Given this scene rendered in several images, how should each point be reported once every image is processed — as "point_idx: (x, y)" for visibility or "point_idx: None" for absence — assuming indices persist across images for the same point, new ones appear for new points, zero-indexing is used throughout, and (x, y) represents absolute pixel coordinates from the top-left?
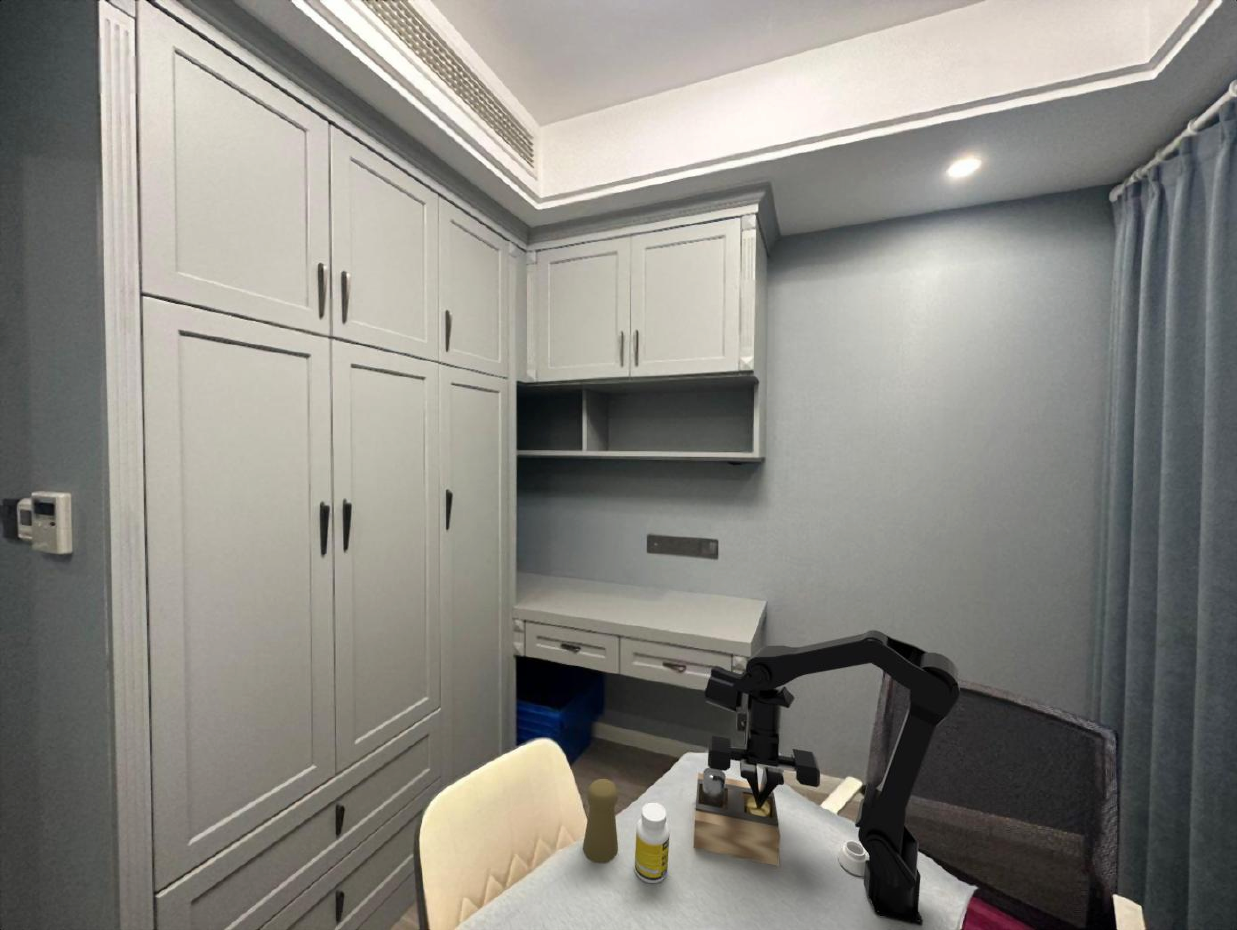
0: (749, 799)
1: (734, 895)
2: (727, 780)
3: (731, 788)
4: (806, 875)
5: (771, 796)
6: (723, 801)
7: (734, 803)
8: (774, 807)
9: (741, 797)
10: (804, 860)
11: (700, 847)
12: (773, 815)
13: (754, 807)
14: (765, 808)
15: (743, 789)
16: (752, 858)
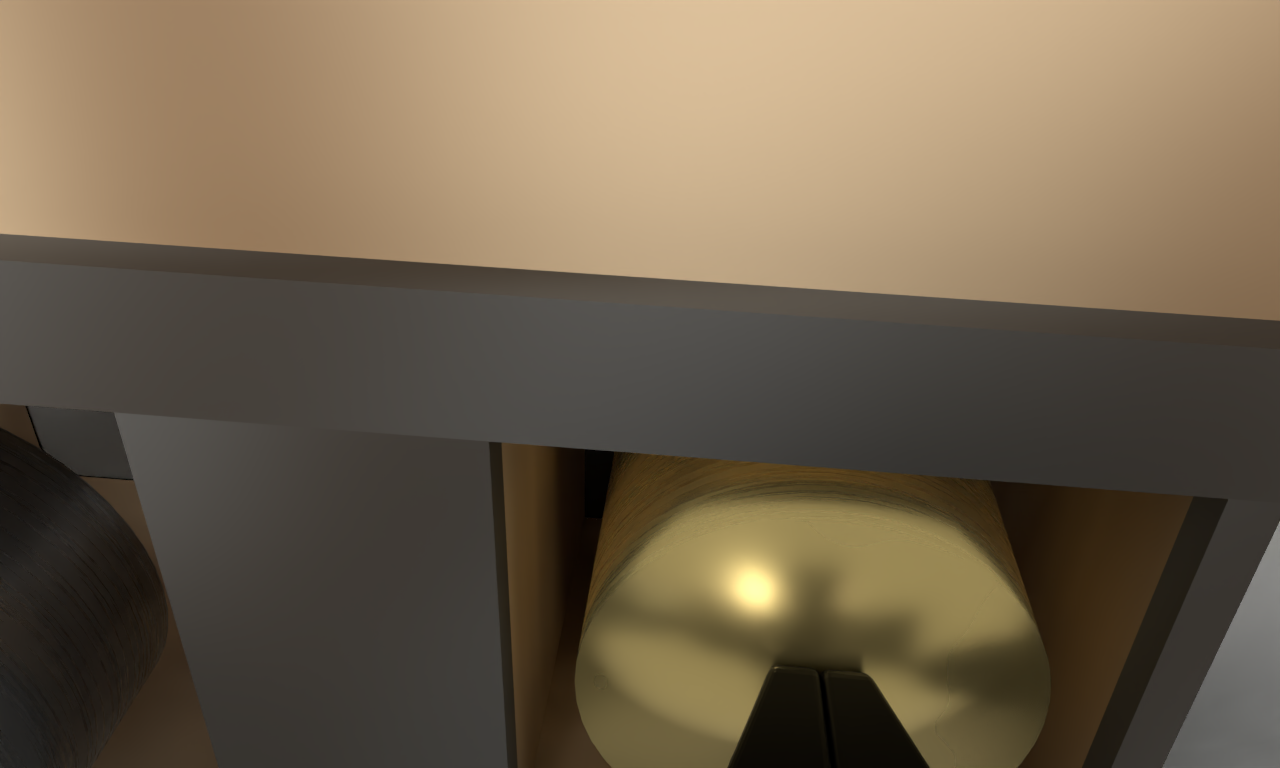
0: (631, 595)
1: None
2: (38, 15)
3: (198, 391)
4: (1199, 757)
5: (1211, 497)
6: (124, 713)
7: (327, 733)
8: (1136, 744)
9: (453, 602)
10: (1277, 627)
11: None
12: (1074, 624)
13: (709, 749)
14: (929, 759)
15: (495, 386)
16: None
